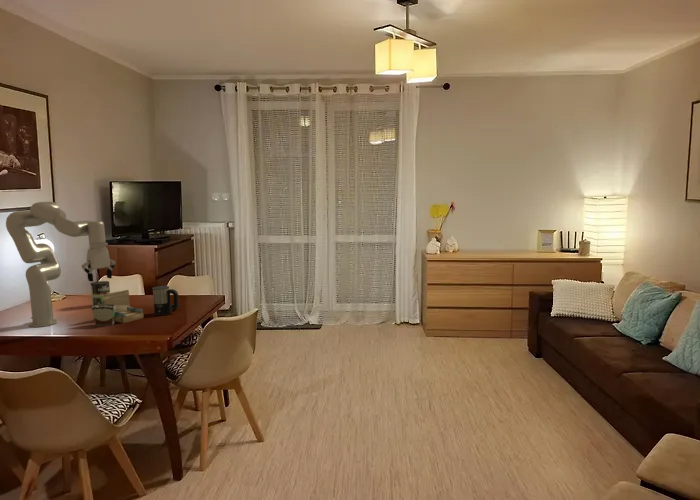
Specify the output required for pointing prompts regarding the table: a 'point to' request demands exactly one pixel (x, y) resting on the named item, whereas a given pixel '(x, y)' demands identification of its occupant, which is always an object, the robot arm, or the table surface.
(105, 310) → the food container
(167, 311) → the milk frother
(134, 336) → the table surface
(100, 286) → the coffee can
